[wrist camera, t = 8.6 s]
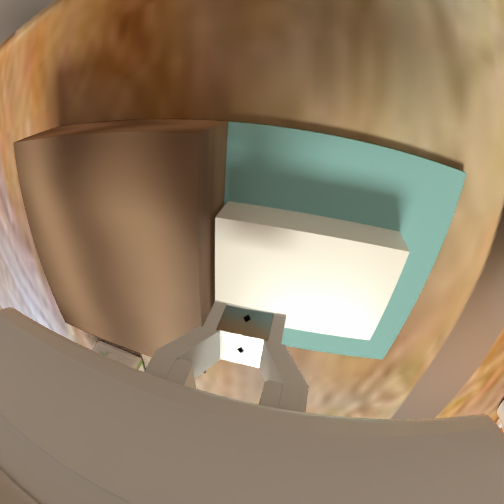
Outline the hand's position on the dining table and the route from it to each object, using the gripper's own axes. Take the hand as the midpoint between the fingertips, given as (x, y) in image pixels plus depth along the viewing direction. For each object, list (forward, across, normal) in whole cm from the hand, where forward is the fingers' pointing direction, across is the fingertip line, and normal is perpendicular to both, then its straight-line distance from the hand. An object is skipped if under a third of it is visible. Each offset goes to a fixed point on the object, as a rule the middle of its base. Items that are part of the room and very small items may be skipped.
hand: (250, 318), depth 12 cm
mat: (+5, -3, 0) cm, 6 cm away
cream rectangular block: (+5, -2, 0) cm, 5 cm away
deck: (+5, +9, 0) cm, 10 cm away
